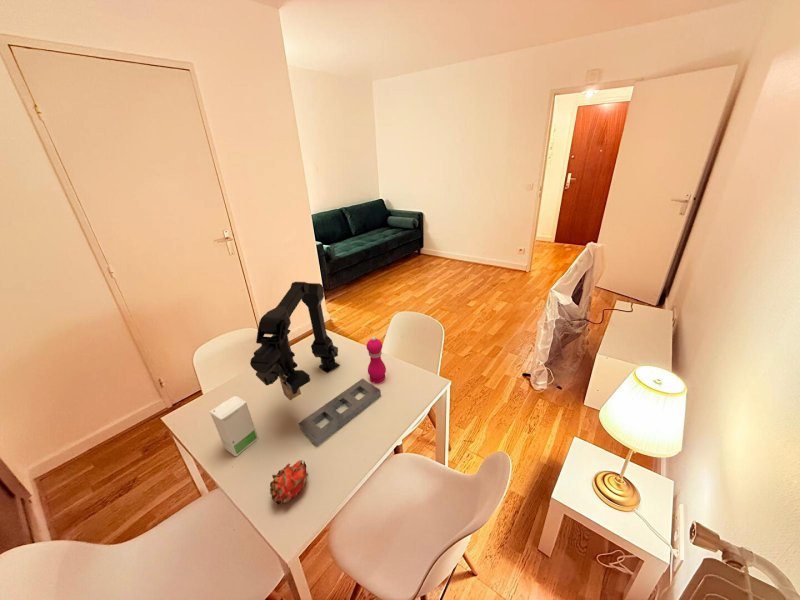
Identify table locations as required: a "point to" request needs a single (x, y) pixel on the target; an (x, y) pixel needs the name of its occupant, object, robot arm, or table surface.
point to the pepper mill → (376, 361)
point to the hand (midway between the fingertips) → (291, 390)
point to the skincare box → (234, 425)
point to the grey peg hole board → (334, 416)
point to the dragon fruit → (288, 482)
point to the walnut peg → (288, 389)
